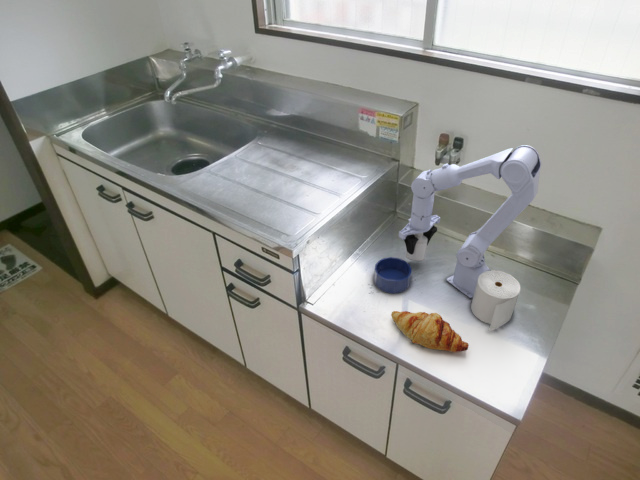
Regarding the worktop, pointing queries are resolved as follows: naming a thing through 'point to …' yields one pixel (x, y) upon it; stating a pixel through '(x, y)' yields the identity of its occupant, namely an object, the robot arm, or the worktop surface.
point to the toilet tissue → (495, 298)
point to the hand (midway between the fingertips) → (416, 249)
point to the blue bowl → (392, 275)
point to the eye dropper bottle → (419, 248)
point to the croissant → (429, 331)
